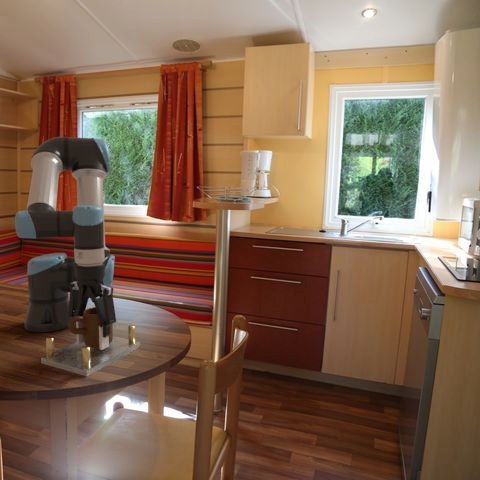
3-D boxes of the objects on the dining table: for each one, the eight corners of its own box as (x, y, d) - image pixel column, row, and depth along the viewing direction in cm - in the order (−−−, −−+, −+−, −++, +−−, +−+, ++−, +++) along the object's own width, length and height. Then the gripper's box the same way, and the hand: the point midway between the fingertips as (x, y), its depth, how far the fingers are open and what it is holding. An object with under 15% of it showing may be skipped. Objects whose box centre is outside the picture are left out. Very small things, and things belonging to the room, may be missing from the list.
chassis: (41, 363, 104) (40, 339, 103) (98, 337, 122) (97, 316, 121) (86, 376, 97) (85, 351, 96) (140, 346, 115) (139, 325, 114)
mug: (76, 356, 102) (74, 320, 101) (63, 347, 108) (61, 314, 106) (118, 342, 111) (117, 310, 110) (104, 335, 116) (103, 304, 115)
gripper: (50, 262, 107) (55, 343, 110) (109, 270, 98) (111, 357, 101) (73, 257, 113) (76, 334, 117) (129, 264, 105) (131, 347, 108)
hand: (92, 345), depth 109 cm, fingers closed on mug, 7 cm apart
